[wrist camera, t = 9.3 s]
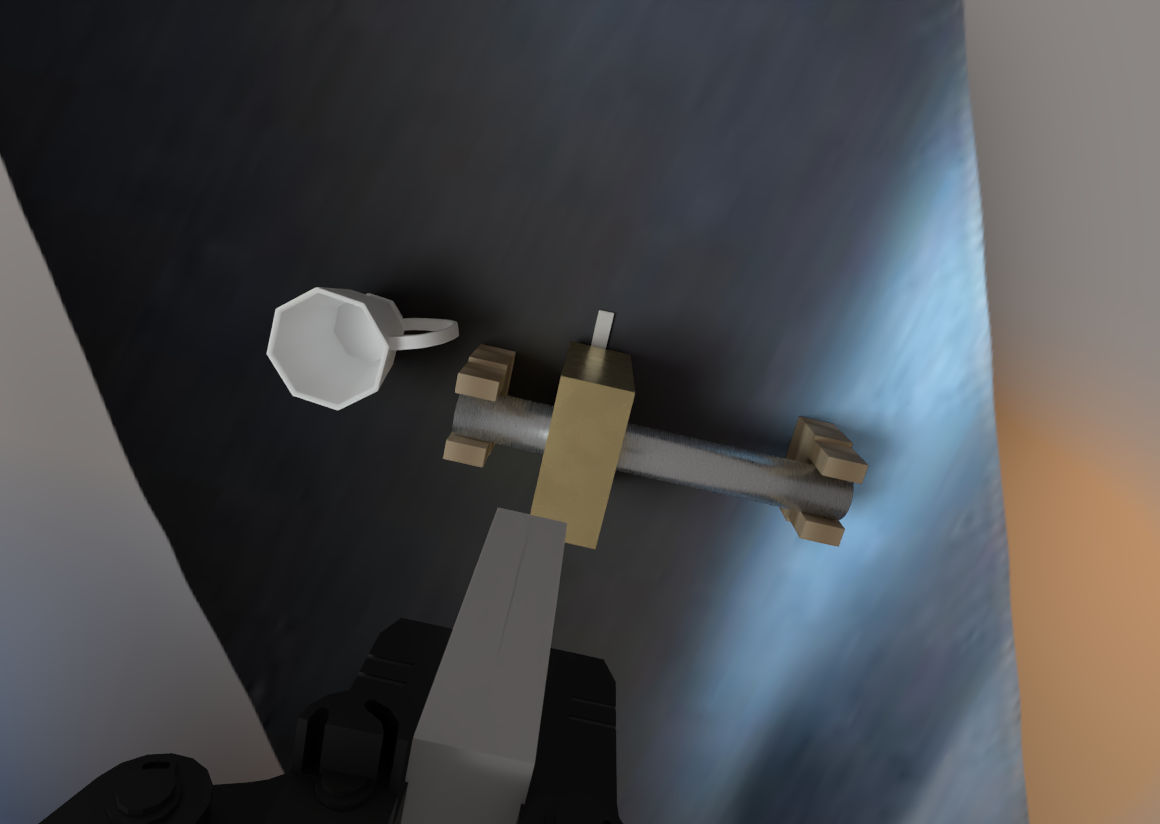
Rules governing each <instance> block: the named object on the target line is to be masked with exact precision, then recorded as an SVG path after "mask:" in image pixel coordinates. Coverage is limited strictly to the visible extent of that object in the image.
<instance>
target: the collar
mask: <svg viewBox="0 0 1160 824" xmlns="http://www.w3.org/2000/svg"><path fill="white" fill-rule="evenodd" d="M634 396H635V386H634V378H633V371H632V363H631V355H629V354H625V353H620V352H616V351H612V350H607V349H603V348H598V347H594V346H590V345H585V344H581V343H576V342H572V341H571V342H570V346H569V349H568V353H567V356H566V360H565V363H564V367H563V370H562V374H561V378H560V382H559V387H558V392H557V396H556V401H555V405H554V410H553V414H552V419H551V423H550V428H549V432H548V437H547V441H546V446H545V450H544V455H543V459H542V464H541V469H540V473H539V478H538V482H537V487H536V491H535V496H534V500H533V505H532V509H531V514H530V515H534V516H538V517H543V518H548V519H552V520H557V521H561V522H566V523H567V529H566V536H565V543H570V544H574V545H579V546H583V547H588V548H592V549H595V548H596V544H597V541H598V537H599V533H600V529H601V525H602V521H603V517H604V513H605V509H606V505H607V501H608V498H609V494H610V490H611V486H612V482H613V478H614V474H615V470H616V466H617V462H618V458H619V455H620V451H621V447H622V443H623V439H624V435H625V431H626V427H627V423H628V419H629V415H630V412H631V408H632V404H633V400H634Z"/></svg>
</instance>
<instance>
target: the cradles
mask: <svg viewBox="0 0 1160 824" xmlns="http://www.w3.org/2000/svg"><path fill="white" fill-rule="evenodd" d="M515 354H516V352H514V351H510V350H505V349H501V348H497V347H492V346H488V345H483V344H480V345H479V347H478V348H477V349H476V350H475V351H474V352H473V353H472V354H471V355H470V356H469V361H468V362H467V364H466V365H465V366H464V367H463V368H462V369H461V370H460V371H459V373H458V377H457V383H456V388H455V393H459V394H463V395H468V396H472V397H477V398H481V399H486V400H490V401H494V402H495V401H496V400H497V398H498V396H499V394H503V395H507V394H508V389H509V384H510V379H511V374H512V369H513V364H514V359H515ZM494 445H495V443H491V442H486V441H482V440H477V439H473V438H468V437H464V436H459V435H455V434H453V431H452V433H451V434H450V436H449V437H448V439H447V440H446V446H445V451H444V457H443V459H447V460H451V461H456V462H460V463H465V464H469V465H474V466H478V467H483V466H484V463H485V461H486V459H487V457H488V455H489V454H490V453H491V451H492V449H493V447H494ZM852 446H853V443H852V442H851V441H850V440H849V439H848V438H847V437H846V436H845V435H844V434H843V433H842V432H841V431H840V430H839V429H838V428H837V427H836V426H835V425H834V424H831V423H827V422H823V421H818V420H814V419H809V418H805V417H801V416H799V418H798V421H797V424H796V427H795V430H794V433H793V436H792V439H791V442H790V445H789V448H788V451H787V454H786V457H785V458H787V459H791V460H796V461H800V462H805V463H809V464H813V465H815V467H816V468H817V469H818V470H819V472H820V473H821V474H822V475H823V476H828V477H832V478H837V479H841V480H845V481H850V482H854V483H859V484H862V482H863V479H864V477H865V474H866V471H867V469H868V466H869V465H868V464H867V463H866V462H865V461H864V460H863V459H862V458H861V457H860V456H859V455H858V454H857V453H856V452H855V451H854V450H853V449H852ZM779 508H780V510H781V512H782V513H783V515H784V517H785V519H786V521H790V522H791V523H792V525H793V527H794V528H795V530H796V532H797V534H798V535H799V537H800V538H801V539H806V540H810V541H815V542H819V543H824V544H828V545H833V546H837V547H839V544H840V541H841V539H842V536H843V533H844V530H845V529H844V527H843V526H842V524H841V523H840V522H839V520H835V519H831V518H826V517H822V516H817V515H813V514H808V513H804V512H799V511H795V510H790V509H786V508H781V507H779Z"/></svg>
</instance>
